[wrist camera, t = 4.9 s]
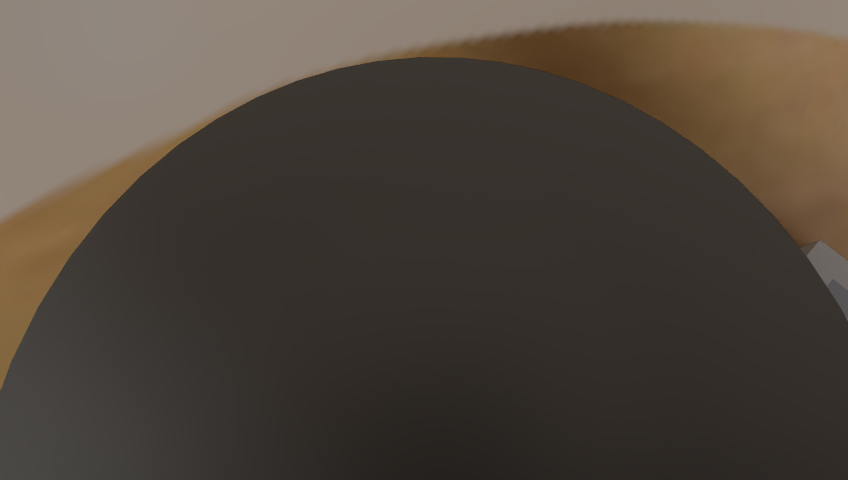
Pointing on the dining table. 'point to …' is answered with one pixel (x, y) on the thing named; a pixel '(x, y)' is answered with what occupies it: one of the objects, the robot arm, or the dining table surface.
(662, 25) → the dining table surface
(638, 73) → the dining table surface
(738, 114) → the dining table surface
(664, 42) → the dining table surface
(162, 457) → the teal flask
